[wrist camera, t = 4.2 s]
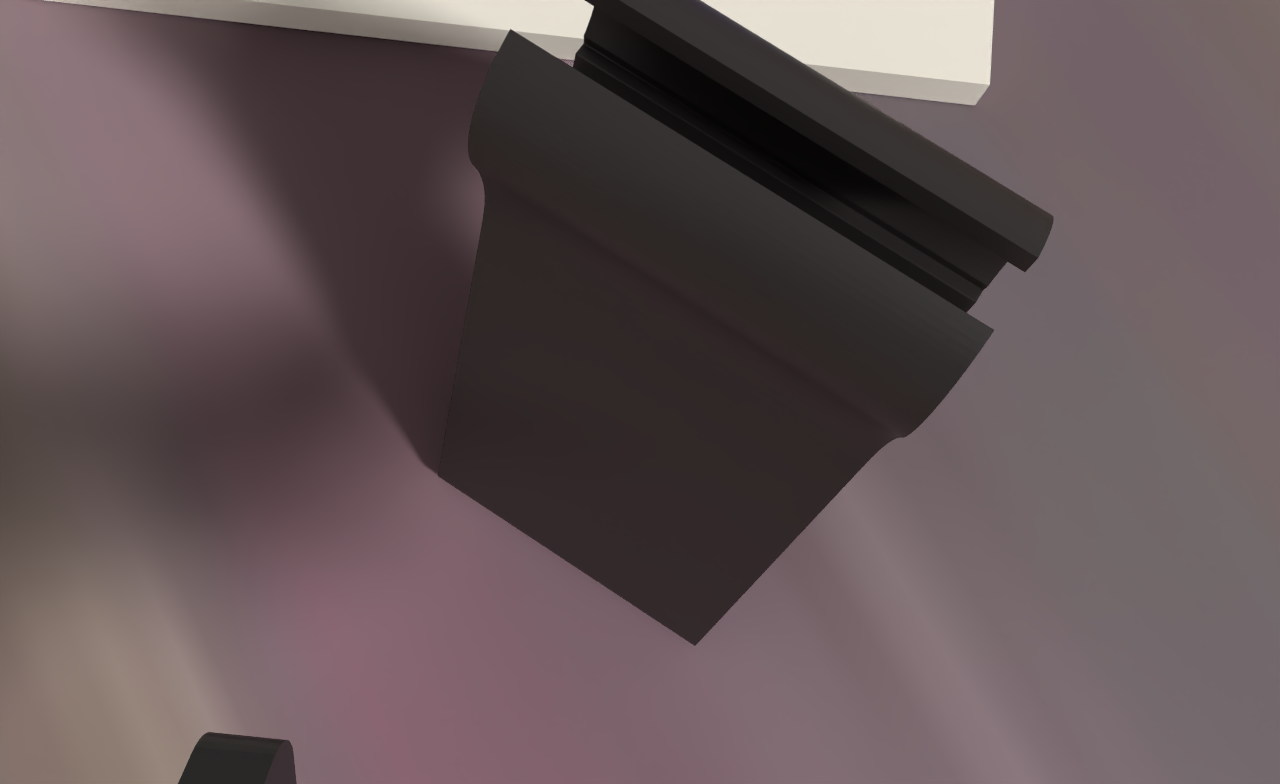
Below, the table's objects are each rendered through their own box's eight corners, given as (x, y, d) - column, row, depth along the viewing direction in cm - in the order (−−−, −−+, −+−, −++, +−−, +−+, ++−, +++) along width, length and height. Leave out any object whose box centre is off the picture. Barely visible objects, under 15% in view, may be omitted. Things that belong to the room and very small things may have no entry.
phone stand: (685, 124, 25) (759, -310, 14) (927, 276, 25) (1222, -35, 13) (438, 476, 24) (278, 333, 12) (692, 646, 23) (784, 673, 12)
